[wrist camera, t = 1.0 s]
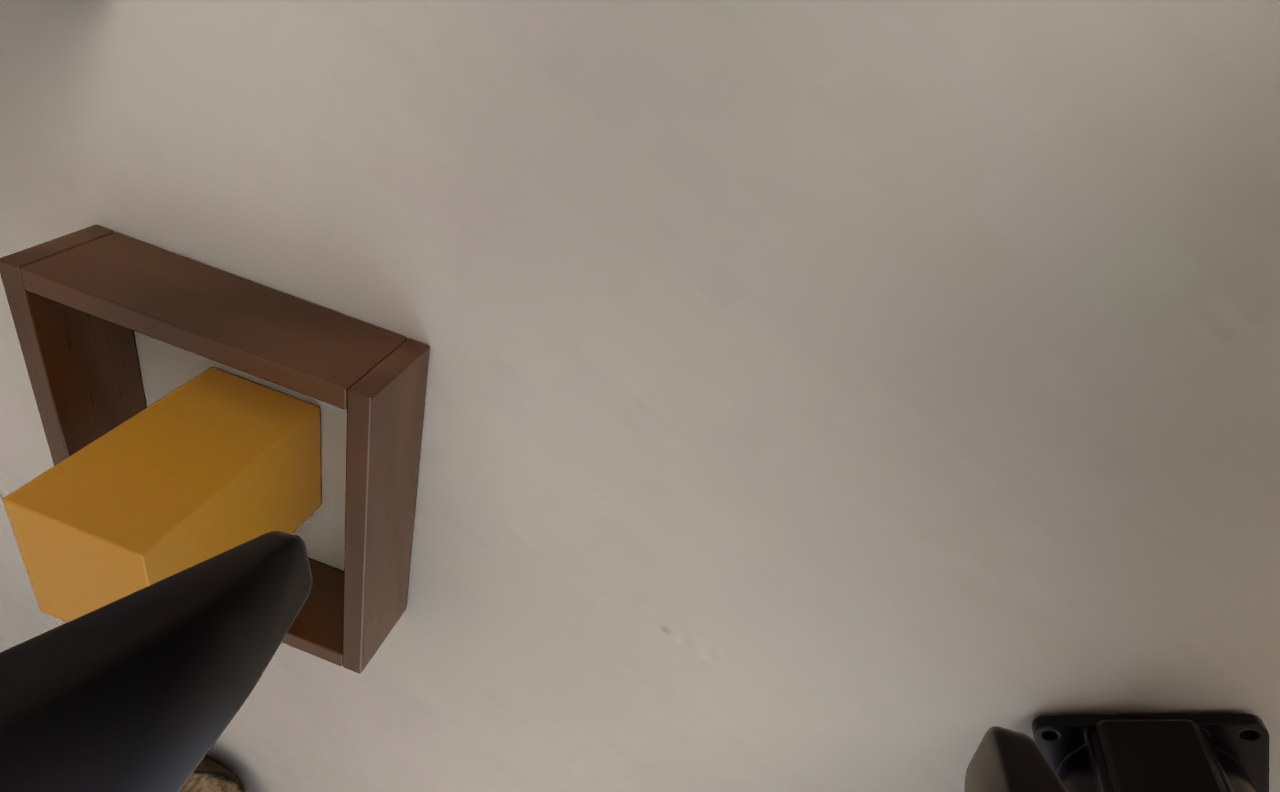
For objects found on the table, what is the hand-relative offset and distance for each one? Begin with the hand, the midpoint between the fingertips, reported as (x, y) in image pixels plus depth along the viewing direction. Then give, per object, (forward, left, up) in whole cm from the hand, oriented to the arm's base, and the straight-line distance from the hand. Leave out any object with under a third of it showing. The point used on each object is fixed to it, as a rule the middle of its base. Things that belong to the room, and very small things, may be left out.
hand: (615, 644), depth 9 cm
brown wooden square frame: (-2, +20, -13) cm, 24 cm away
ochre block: (-2, +20, -13) cm, 24 cm away
